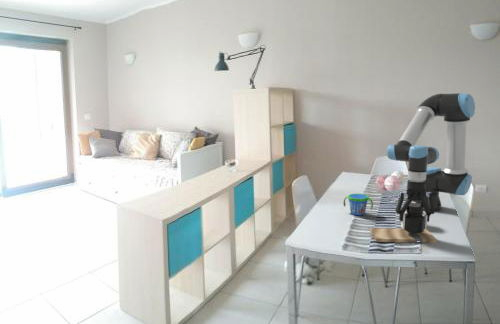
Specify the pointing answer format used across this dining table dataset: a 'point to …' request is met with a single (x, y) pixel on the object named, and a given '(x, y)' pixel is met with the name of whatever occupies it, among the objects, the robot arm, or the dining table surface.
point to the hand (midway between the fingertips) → (413, 228)
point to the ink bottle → (414, 218)
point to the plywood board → (401, 235)
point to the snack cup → (358, 203)
